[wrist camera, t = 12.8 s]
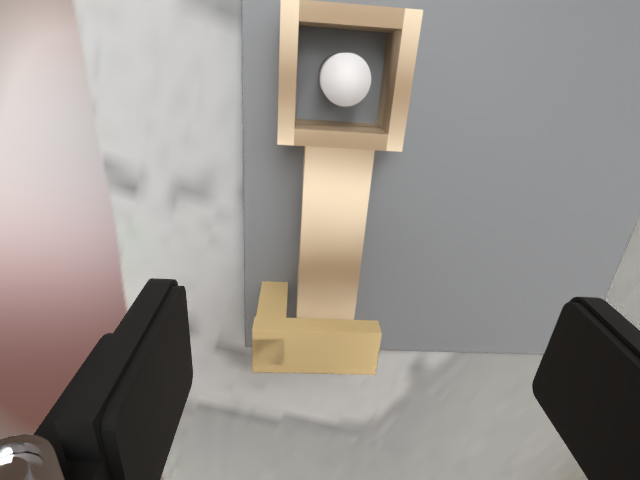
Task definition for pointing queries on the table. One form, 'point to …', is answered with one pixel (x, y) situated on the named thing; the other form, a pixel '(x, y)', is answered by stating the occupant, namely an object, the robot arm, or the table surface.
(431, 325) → the slate base
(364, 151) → the wooden link
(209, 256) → the table surface
